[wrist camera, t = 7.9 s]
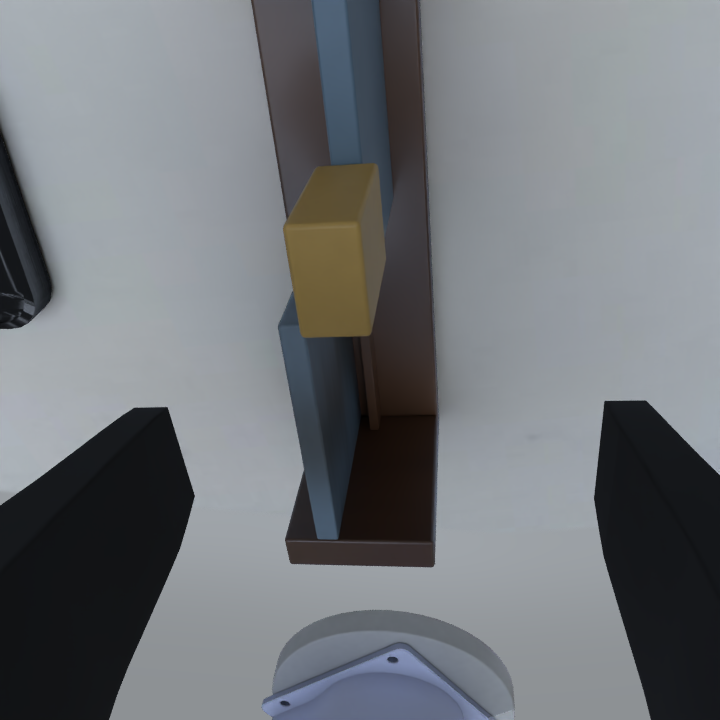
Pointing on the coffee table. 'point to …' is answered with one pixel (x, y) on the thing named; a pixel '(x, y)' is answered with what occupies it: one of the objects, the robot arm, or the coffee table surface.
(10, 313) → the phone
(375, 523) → the window frame
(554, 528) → the coffee table surface
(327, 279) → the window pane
